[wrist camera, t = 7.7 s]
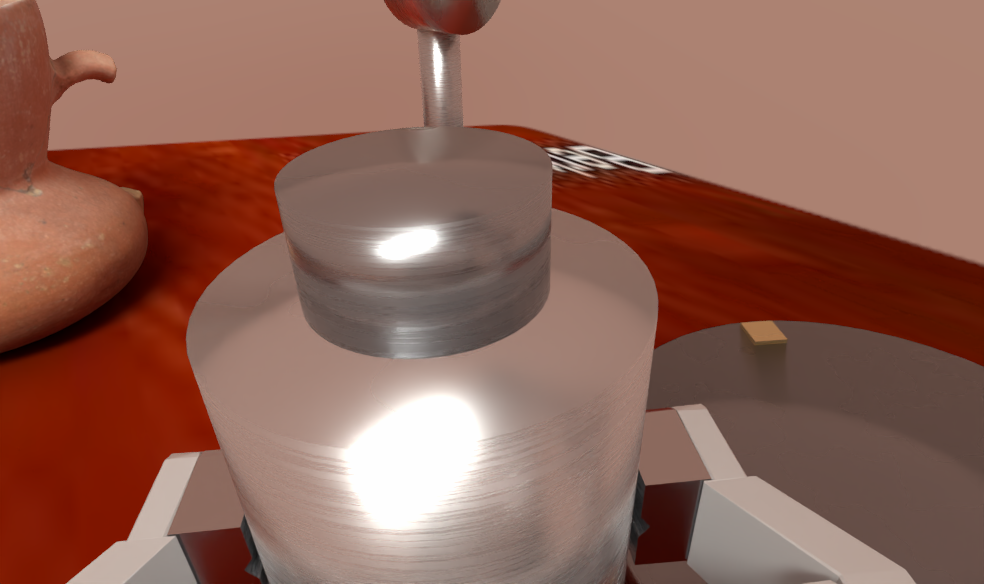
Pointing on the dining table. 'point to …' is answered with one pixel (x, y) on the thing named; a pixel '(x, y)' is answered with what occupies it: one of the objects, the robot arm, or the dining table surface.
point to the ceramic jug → (54, 194)
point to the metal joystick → (442, 50)
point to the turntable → (843, 435)
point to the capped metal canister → (430, 369)
